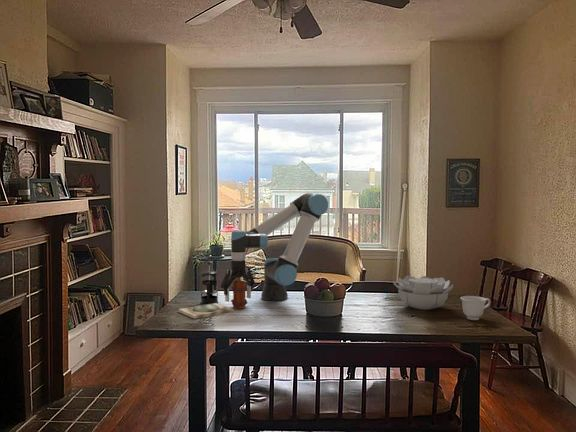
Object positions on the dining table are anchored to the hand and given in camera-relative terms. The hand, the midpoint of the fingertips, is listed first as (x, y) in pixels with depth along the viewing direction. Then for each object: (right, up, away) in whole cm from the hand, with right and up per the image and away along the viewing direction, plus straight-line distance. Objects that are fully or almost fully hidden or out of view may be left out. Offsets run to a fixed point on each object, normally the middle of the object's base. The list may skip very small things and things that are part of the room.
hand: (238, 299), depth 266 cm
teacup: (+118, -6, -21) cm, 120 cm away
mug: (0, -4, 0) cm, 4 cm away
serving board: (-15, -5, -11) cm, 19 cm away
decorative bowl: (+98, -5, +1) cm, 98 cm away
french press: (-17, -4, +10) cm, 20 cm away
